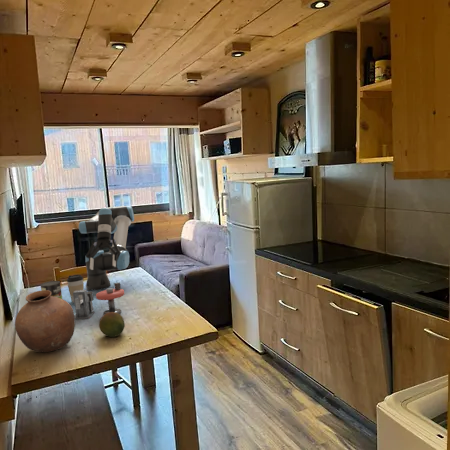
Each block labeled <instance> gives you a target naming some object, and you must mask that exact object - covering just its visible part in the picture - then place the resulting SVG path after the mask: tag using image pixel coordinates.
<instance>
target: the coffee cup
mask: <svg viewBox="0 0 450 450" xmlns="http://www.w3.org/2000/svg"><path fill="white" fill-rule="evenodd" d="M66 282H67V287H68V293H69V295H70V296H69V297H70V299H71V303H74V297H73V292H74V291H76V290H85V288H84V287H85V286H84V277H83V276H82V275H81V274H74V275H69V276H68V278H66ZM79 298H80V301H81V300H82V299H83V296H82V295H79Z"/></svg>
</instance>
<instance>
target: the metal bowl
mask: <svg viewBox="0 0 450 450" xmlns="http://www.w3.org/2000/svg"><path fill="white" fill-rule="evenodd" d="M107 302H108V303H107V304H108V309H107V310H104V311H103V316H104V315H105V314H106V313H109V312H116V313H118V314H120V315H121V313H122V309H121V308H116V304H115V299H111V300H107Z"/></svg>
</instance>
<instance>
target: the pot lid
mask: <svg viewBox="0 0 450 450" xmlns="http://www.w3.org/2000/svg"><path fill="white" fill-rule="evenodd" d="M113 284H114V288H113V287H107V288H105V290H102V291H99V292H97V293H96V294H95V298H96V300H99V301H108V300H111V299H114V300H115V299H116V300H117V299H119V298H122V297H123V296H124V295H125V290H124V289H123V288H121V282H115V283H113Z"/></svg>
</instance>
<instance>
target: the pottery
mask: <svg viewBox="0 0 450 450" xmlns="http://www.w3.org/2000/svg"><path fill="white" fill-rule="evenodd" d="M25 301H26V303H25V304H24V305H23V306H22V307H21V308H20V309H19V310H18V312H17V314H16V317H15V320H14V326H15V332H16V334H17V337H18V339H19V340H20V342H21V343H22V344H23V345H24V346H25V347H26V348H27V349H29V350H31V351H33V352H36V353H49V352H53V351H56V350H59V349H62V348H63V347H65V346H67V345H68V344H69V343H70V341H71V339H72V338H73V335H74V333H75V329H76V328H75V327H76V326H75V325H76V319H75V318H74V315H75V311H74V309H73V307H72V305H71V304H70V303H69V302H67V301H66V300H65V299H63V298H62V299H61V298H58V297H53V296H51V292H50V291H49V290H42V291H41V290H37V291H33V292H30V293H28V295H26V297H25Z"/></svg>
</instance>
